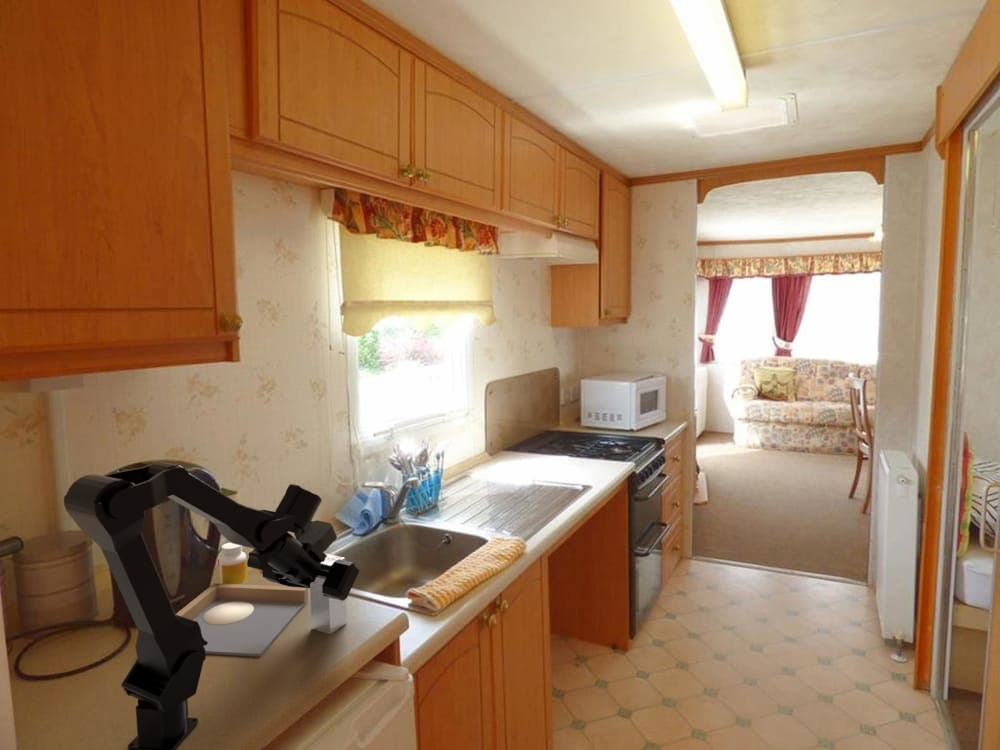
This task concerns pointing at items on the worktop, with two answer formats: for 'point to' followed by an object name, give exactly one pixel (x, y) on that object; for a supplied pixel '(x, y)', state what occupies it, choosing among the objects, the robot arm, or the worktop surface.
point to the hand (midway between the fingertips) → (333, 589)
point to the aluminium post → (326, 605)
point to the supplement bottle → (233, 565)
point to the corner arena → (244, 616)
